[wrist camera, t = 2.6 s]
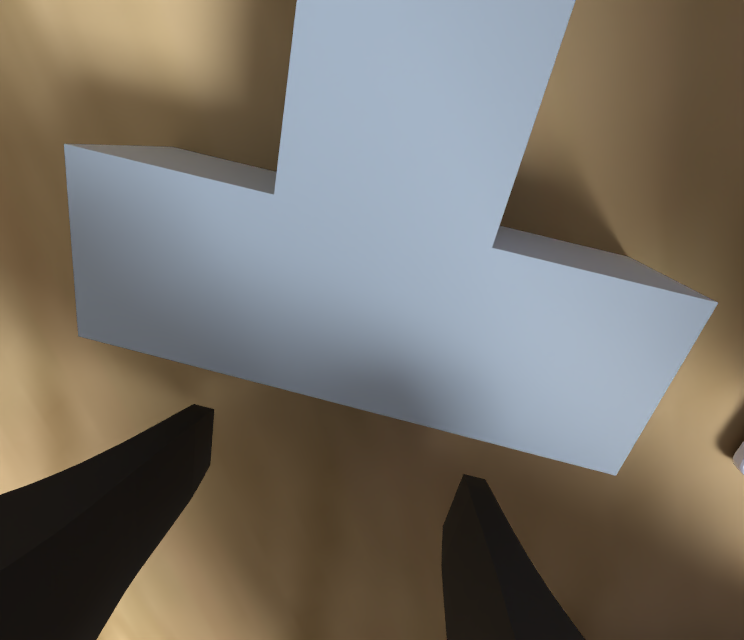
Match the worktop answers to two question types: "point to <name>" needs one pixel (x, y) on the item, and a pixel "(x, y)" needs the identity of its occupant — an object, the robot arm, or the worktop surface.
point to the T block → (387, 243)
